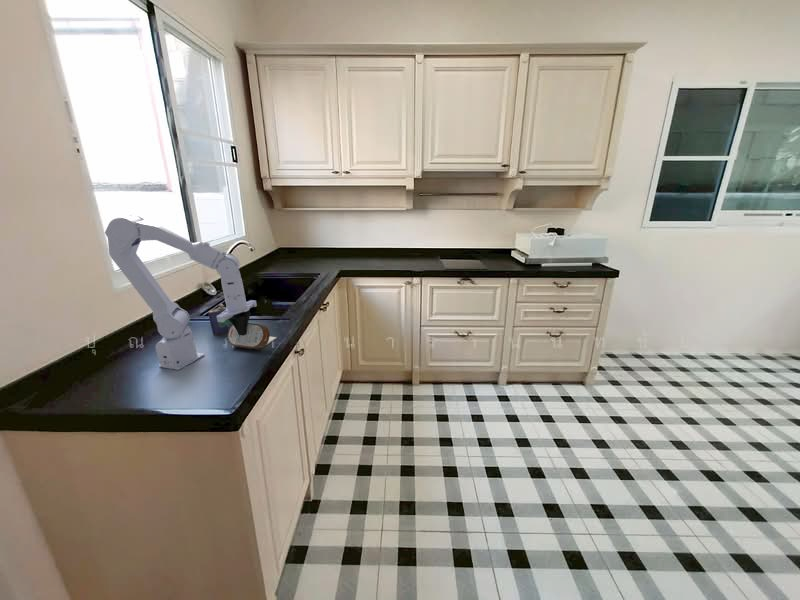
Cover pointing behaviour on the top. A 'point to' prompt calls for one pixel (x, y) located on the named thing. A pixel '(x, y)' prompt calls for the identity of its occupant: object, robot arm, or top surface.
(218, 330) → the flask
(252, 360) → the top surface
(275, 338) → the mat
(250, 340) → the tin
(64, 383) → the top surface
